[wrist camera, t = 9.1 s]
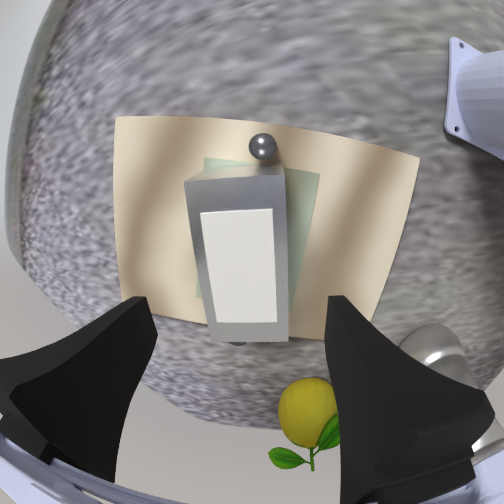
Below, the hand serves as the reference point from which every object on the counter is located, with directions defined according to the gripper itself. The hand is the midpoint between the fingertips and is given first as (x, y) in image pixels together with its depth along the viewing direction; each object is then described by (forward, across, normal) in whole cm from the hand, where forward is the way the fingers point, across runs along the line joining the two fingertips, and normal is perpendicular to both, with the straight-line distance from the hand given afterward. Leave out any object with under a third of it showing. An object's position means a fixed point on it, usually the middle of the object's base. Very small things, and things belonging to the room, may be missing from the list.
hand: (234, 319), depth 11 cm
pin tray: (+9, 0, 0) cm, 9 cm away
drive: (+8, 0, 0) cm, 8 cm away
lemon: (+10, -4, +15) cm, 18 cm away
